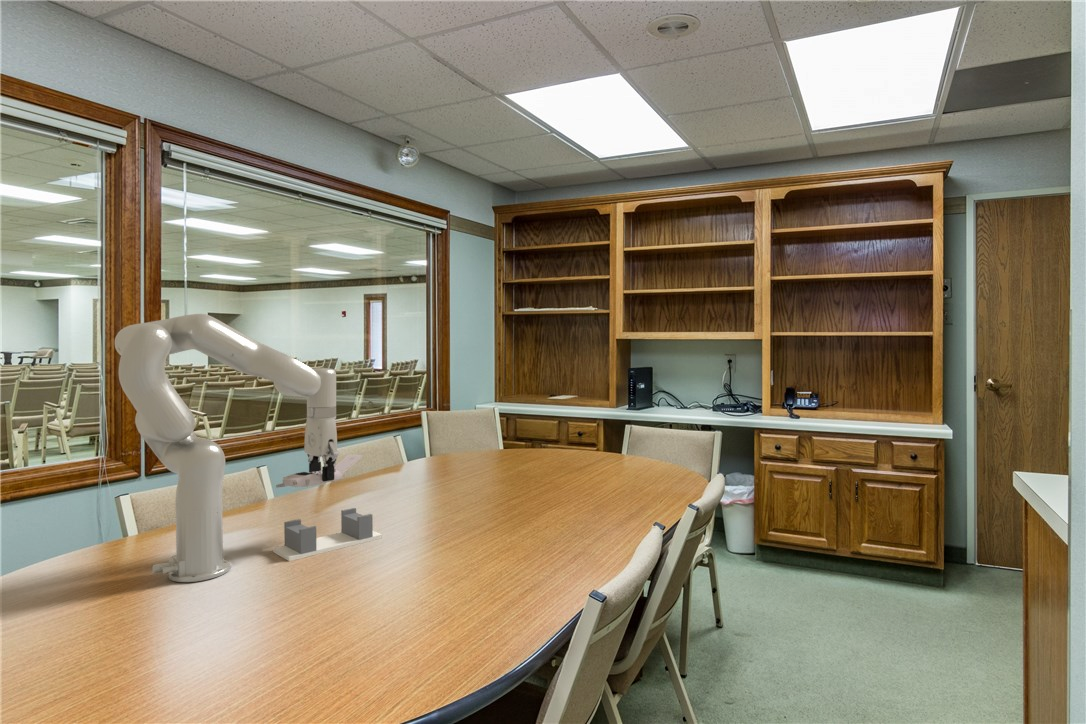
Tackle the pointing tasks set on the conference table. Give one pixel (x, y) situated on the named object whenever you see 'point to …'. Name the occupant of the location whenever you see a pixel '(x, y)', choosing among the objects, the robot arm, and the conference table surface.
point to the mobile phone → (319, 474)
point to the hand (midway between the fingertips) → (321, 478)
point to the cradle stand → (306, 544)
